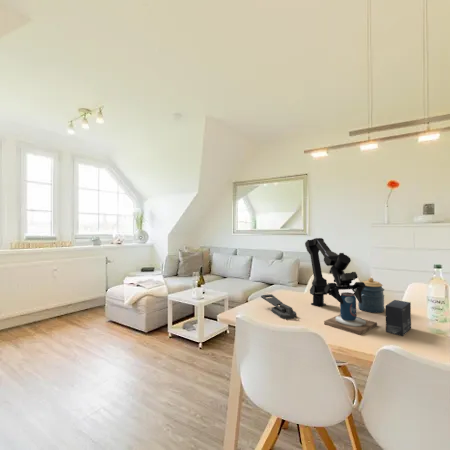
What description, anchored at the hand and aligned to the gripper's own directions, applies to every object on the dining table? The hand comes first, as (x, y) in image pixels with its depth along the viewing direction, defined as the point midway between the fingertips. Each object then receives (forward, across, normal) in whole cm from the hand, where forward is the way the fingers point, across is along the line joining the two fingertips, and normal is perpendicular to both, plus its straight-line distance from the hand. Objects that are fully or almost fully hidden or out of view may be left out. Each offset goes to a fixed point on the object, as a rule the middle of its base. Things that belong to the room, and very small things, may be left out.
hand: (351, 303), depth 130 cm
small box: (+13, +18, +2) cm, 22 cm away
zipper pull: (-10, -28, +26) cm, 39 cm away
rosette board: (+6, 0, +8) cm, 11 cm away
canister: (-8, +25, +23) cm, 35 cm away
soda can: (+5, -1, +7) cm, 8 cm away
